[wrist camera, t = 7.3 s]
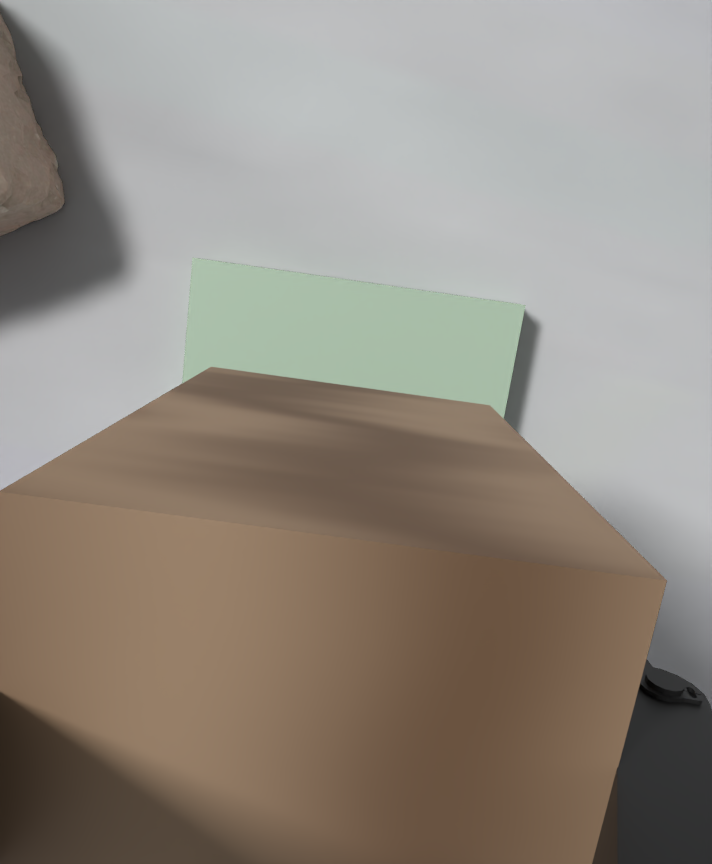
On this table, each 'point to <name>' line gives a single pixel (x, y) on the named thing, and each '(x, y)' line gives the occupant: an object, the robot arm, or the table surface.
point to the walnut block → (311, 637)
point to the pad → (350, 333)
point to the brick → (22, 151)
